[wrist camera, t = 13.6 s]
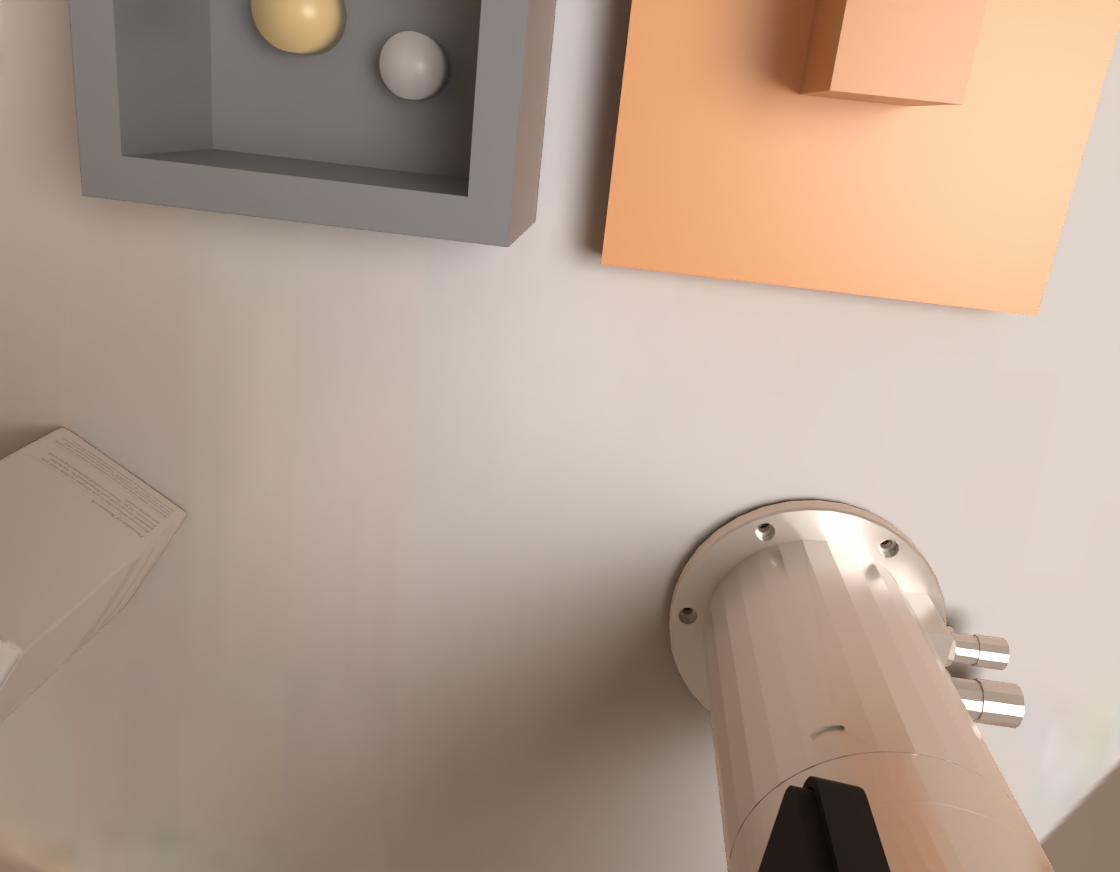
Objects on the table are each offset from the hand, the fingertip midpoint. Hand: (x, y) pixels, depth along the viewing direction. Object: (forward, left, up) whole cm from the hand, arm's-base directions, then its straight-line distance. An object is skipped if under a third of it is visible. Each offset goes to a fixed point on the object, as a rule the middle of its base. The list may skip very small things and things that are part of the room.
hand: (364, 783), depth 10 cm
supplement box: (+22, +14, -31) cm, 41 cm away
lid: (-10, -13, -31) cm, 35 cm away
